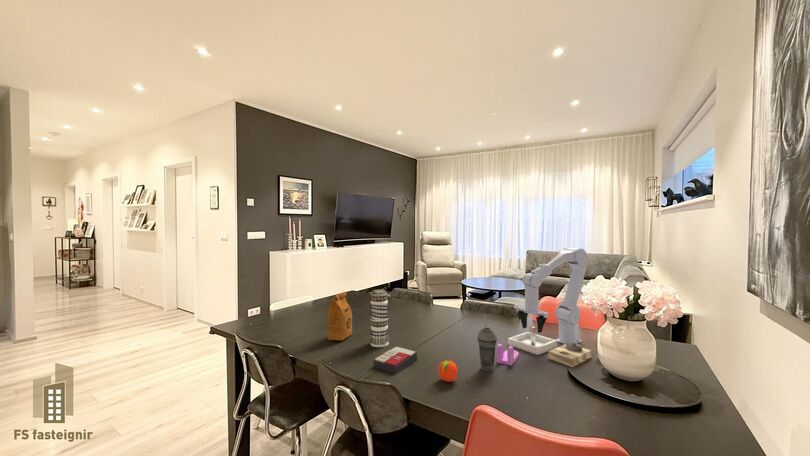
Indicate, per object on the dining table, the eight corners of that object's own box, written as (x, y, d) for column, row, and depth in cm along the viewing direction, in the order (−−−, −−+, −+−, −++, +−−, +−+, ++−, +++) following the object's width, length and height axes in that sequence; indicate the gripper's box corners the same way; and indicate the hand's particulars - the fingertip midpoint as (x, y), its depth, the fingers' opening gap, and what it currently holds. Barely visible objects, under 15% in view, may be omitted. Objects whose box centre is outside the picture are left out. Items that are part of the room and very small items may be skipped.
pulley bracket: (567, 350, 141) (566, 337, 141) (591, 357, 133) (591, 344, 133) (548, 358, 132) (548, 345, 132) (572, 367, 124) (572, 352, 124)
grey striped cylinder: (366, 345, 149) (365, 291, 149) (375, 339, 158) (374, 288, 157) (384, 348, 146) (383, 293, 145) (392, 341, 154) (391, 289, 154)
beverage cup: (486, 374, 119) (486, 320, 119) (473, 367, 125) (473, 315, 125) (501, 370, 122) (500, 317, 122) (488, 363, 129) (487, 313, 129)
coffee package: (355, 334, 165) (355, 291, 165) (342, 343, 153) (342, 296, 153) (338, 332, 168) (338, 290, 168) (324, 340, 156) (324, 295, 156)
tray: (527, 337, 157) (527, 331, 157) (557, 347, 145) (557, 340, 145) (508, 344, 148) (508, 338, 148) (538, 355, 136) (538, 348, 136)
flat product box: (372, 358, 127) (395, 344, 139) (373, 369, 127) (396, 354, 139) (395, 365, 120) (417, 350, 133) (395, 376, 121) (417, 360, 133)
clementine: (452, 388, 109) (451, 367, 109) (433, 383, 113) (433, 363, 113) (461, 379, 116) (460, 359, 116) (443, 374, 120) (443, 355, 120)
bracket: (511, 366, 126) (510, 348, 126) (497, 362, 130) (496, 345, 130) (520, 354, 137) (520, 338, 137) (507, 352, 140) (507, 336, 140)
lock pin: (532, 343, 148) (531, 326, 148) (537, 345, 146) (537, 327, 146) (528, 344, 146) (528, 327, 146) (534, 346, 144) (534, 328, 144)
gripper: (512, 298, 150) (513, 327, 150) (541, 304, 138) (542, 336, 138) (521, 296, 154) (522, 324, 154) (550, 302, 142) (551, 332, 142)
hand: (532, 330), depth 147 cm, fingers open, 7 cm apart
